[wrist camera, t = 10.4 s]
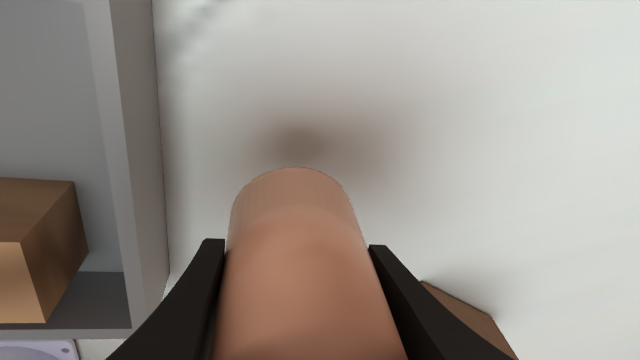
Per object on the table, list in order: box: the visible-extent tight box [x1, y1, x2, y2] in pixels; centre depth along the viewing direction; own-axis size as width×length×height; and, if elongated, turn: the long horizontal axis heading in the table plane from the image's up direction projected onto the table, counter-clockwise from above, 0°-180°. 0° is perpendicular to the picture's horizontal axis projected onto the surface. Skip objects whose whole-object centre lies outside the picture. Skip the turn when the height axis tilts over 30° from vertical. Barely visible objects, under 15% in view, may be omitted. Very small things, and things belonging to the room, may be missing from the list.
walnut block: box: [0, 177, 89, 323], centre depth 18 cm, size 5×5×5 cm
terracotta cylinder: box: [210, 167, 408, 360], centre depth 12 cm, size 5×5×7 cm
